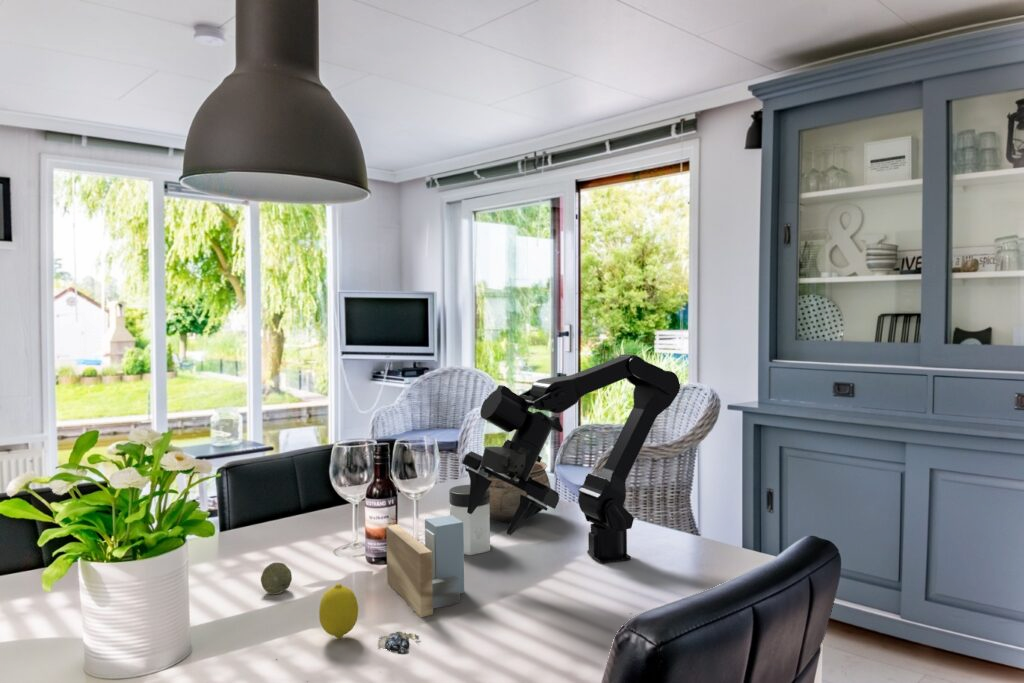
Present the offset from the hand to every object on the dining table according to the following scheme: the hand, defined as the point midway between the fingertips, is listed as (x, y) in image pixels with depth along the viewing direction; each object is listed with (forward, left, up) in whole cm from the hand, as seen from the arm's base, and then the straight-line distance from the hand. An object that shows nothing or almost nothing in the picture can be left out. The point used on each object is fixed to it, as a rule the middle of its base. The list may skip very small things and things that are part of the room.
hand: (488, 523), depth 126 cm
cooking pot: (-15, -37, -10) cm, 41 cm away
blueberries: (+18, +20, -11) cm, 29 cm away
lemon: (+27, +14, -10) cm, 32 cm away
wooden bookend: (+12, +2, -10) cm, 16 cm away
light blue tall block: (+8, +1, -10) cm, 13 cm away
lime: (+36, -8, -10) cm, 38 cm away
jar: (-1, -19, -10) cm, 22 cm away
